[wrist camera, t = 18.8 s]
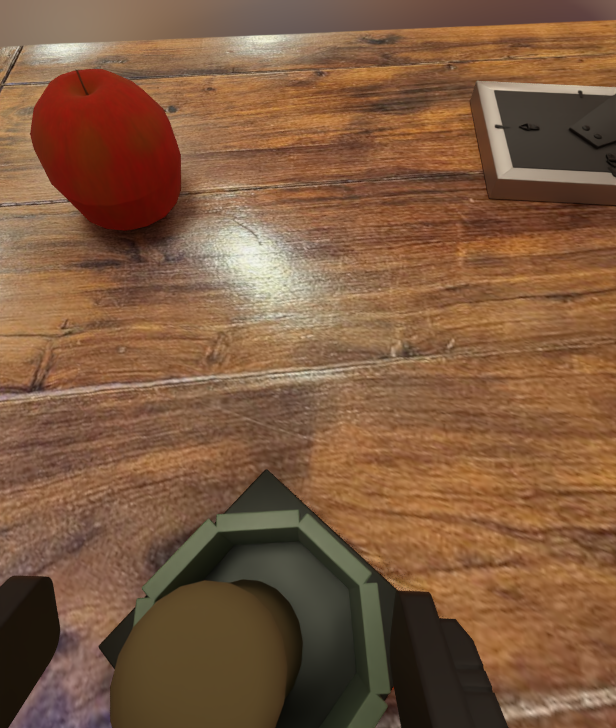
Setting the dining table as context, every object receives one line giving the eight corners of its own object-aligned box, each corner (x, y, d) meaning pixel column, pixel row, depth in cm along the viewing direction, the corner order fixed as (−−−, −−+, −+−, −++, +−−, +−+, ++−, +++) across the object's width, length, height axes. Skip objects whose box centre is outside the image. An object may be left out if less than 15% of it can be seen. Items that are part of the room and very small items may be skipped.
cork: (230, 555, 23) (176, 523, 13) (325, 624, 22) (340, 643, 12) (155, 670, 21) (23, 731, 11) (256, 758, 19) (206, 918, 9)
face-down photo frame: (663, 110, 46) (469, 101, 46) (684, 82, 43) (478, 73, 44) (722, 211, 38) (488, 198, 39) (751, 184, 35) (501, 171, 36)
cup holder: (271, 869, 18) (257, 979, 13) (105, 644, 22) (42, 658, 17) (429, 622, 22) (466, 629, 17) (267, 472, 26) (257, 440, 21)
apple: (54, 230, 36) (-43, 89, 26) (125, 163, 41) (66, 20, 31) (151, 268, 34) (87, 131, 24) (215, 193, 39) (184, 50, 29)
